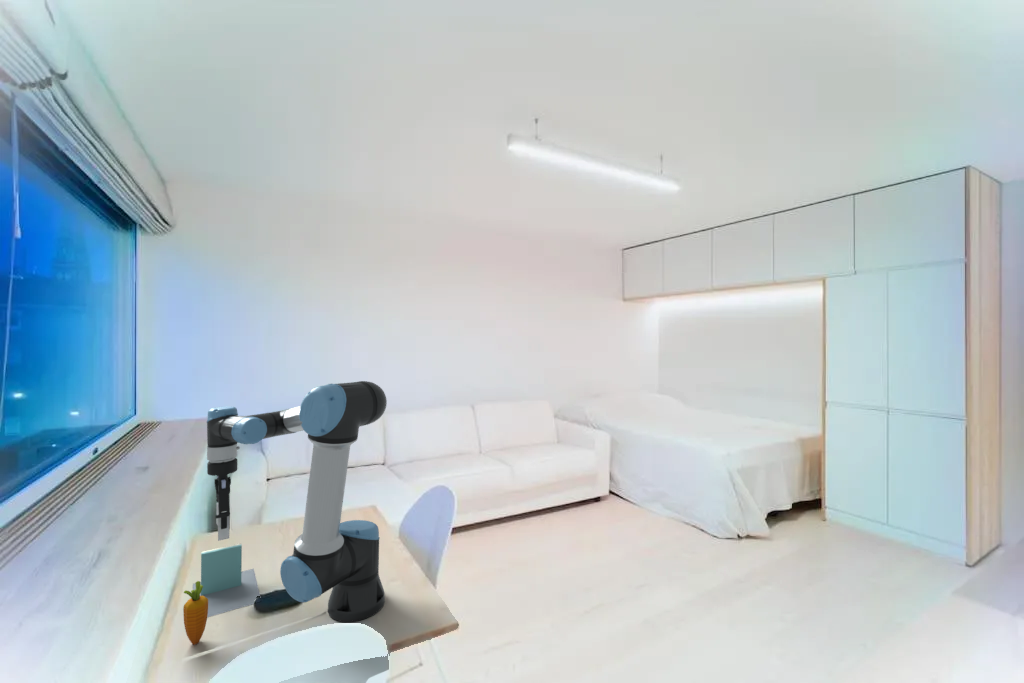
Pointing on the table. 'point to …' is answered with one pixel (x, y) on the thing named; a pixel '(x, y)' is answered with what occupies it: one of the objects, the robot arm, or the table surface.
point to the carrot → (195, 614)
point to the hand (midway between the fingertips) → (222, 531)
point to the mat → (233, 595)
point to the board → (221, 568)
